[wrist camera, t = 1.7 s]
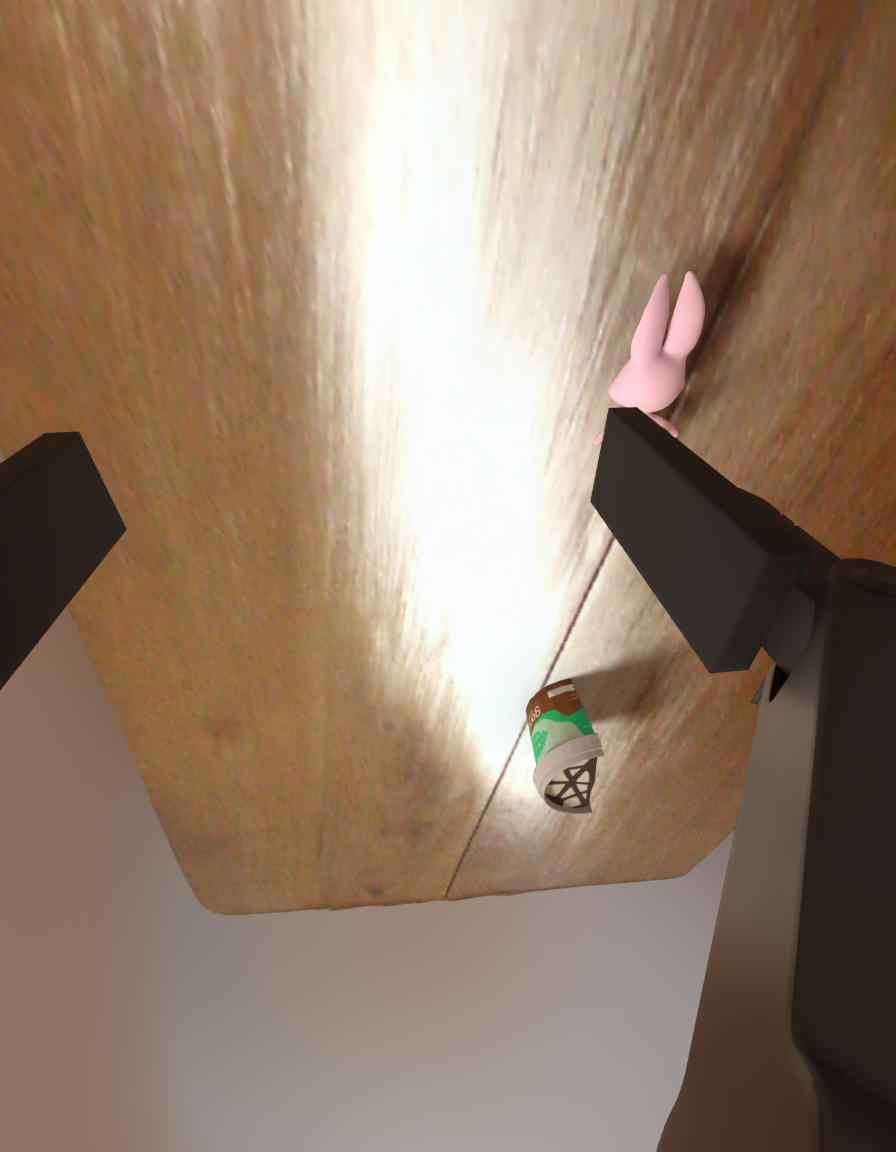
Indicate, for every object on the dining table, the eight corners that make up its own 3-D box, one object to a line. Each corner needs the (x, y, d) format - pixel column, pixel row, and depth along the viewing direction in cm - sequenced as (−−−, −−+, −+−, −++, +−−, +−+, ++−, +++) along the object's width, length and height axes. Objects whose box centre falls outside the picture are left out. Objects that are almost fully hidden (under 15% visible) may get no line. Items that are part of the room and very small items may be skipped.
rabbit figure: (648, 469, 40) (716, 259, 29) (680, 516, 36) (772, 292, 25) (574, 477, 40) (614, 267, 29) (598, 524, 36) (655, 302, 25)
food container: (516, 677, 52) (539, 761, 44) (571, 669, 53) (605, 752, 45) (516, 742, 60) (536, 823, 52) (564, 735, 60) (591, 815, 52)
